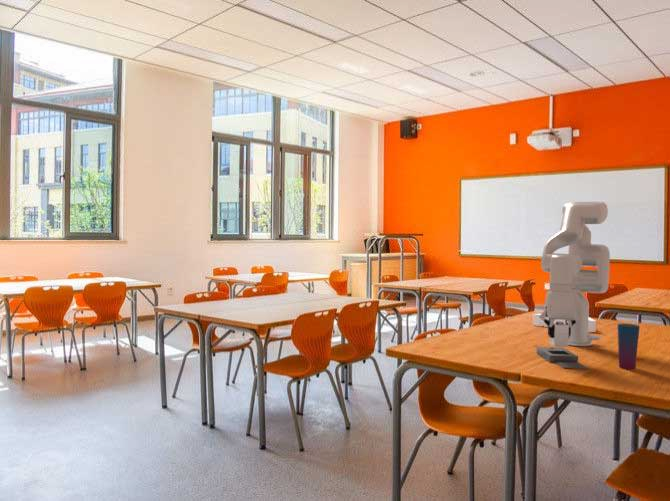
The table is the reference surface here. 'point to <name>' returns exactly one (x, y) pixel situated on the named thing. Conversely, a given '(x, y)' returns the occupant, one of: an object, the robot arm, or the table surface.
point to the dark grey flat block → (557, 354)
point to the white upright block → (560, 335)
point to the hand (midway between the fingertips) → (559, 336)
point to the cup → (627, 345)
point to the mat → (571, 365)
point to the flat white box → (539, 322)
